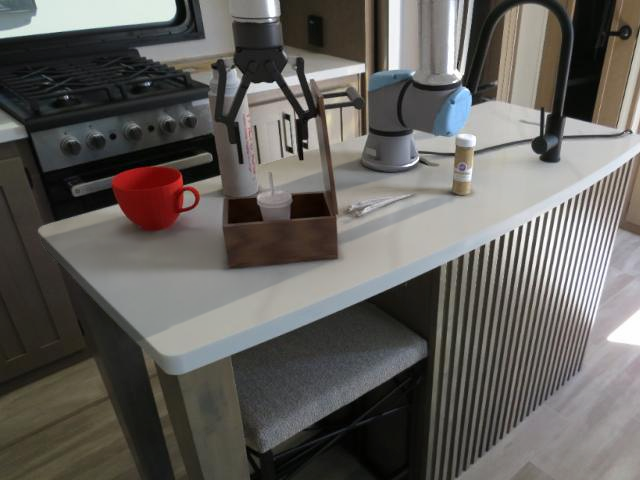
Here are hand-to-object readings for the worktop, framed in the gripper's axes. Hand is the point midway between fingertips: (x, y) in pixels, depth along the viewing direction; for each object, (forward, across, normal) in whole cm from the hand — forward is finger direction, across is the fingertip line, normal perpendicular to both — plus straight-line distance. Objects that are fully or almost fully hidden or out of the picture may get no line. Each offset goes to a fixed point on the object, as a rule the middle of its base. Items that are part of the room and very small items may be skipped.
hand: (271, 159), depth 99 cm
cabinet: (+17, 0, 0) cm, 17 cm away
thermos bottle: (+18, +7, -30) cm, 36 cm away
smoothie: (+17, 0, 0) cm, 17 cm away
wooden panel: (-2, -9, 0) cm, 9 cm away
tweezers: (+18, -24, -16) cm, 34 cm away
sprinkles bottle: (+18, -44, -20) cm, 51 cm away
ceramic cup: (+18, +22, -14) cm, 32 cm away
